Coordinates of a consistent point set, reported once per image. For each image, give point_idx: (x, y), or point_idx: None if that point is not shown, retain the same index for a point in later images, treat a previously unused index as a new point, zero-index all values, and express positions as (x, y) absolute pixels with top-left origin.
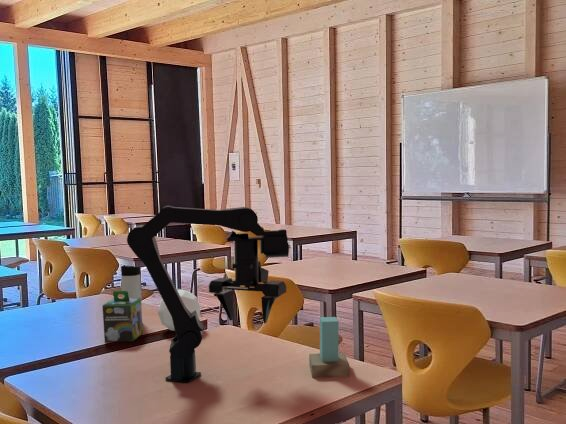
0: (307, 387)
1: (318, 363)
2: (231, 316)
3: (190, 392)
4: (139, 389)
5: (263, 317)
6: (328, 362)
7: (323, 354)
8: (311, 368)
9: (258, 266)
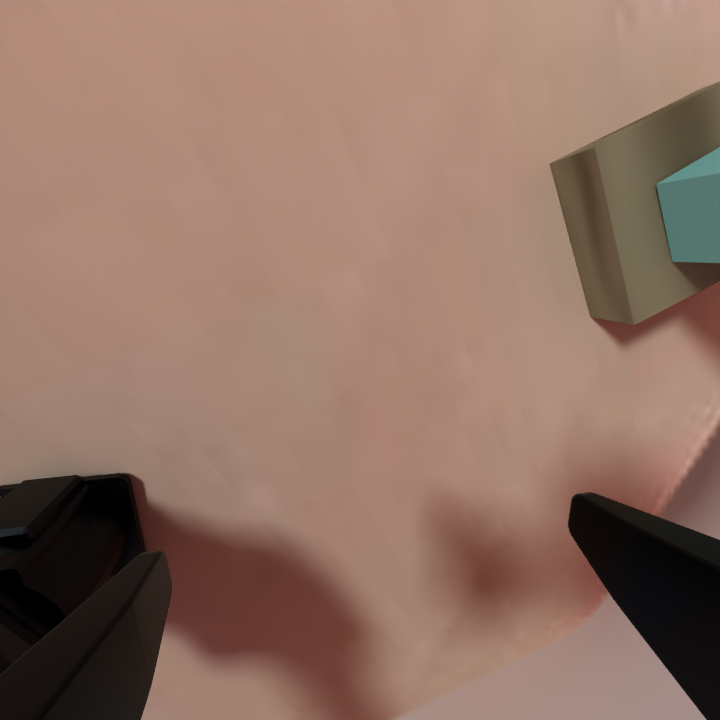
0: (592, 415)
1: (657, 288)
2: (154, 628)
3: (223, 621)
4: None
5: (631, 608)
6: None
7: (716, 258)
8: (607, 294)
9: None
